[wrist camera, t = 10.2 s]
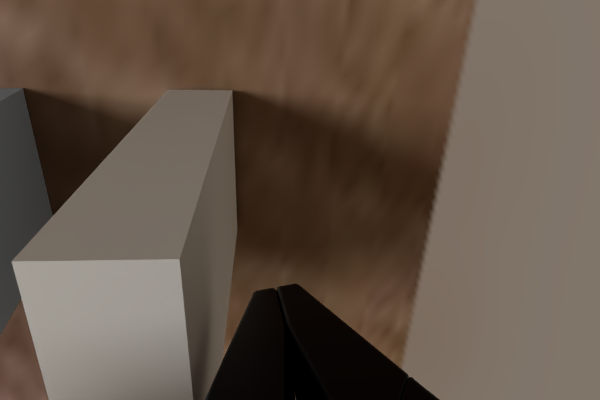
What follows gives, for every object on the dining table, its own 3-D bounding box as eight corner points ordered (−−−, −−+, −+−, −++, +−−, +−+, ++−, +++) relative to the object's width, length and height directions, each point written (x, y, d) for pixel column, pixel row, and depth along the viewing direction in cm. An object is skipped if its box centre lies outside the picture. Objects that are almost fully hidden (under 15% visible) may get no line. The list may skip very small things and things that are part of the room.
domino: (232, 90, 15) (178, 258, 6) (237, 230, 17) (204, 513, 8) (167, 89, 15) (11, 261, 6) (180, 230, 17) (81, 520, 8)
